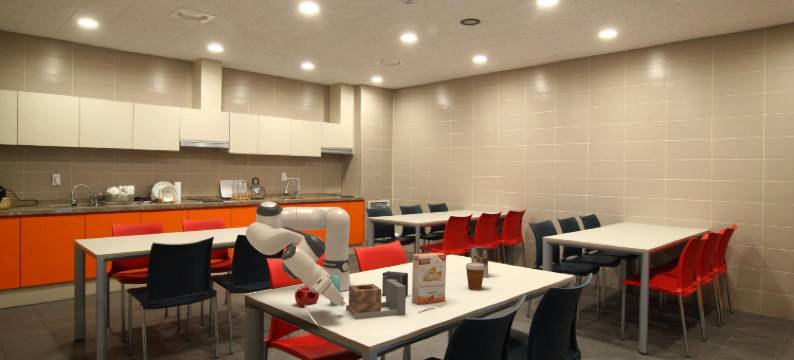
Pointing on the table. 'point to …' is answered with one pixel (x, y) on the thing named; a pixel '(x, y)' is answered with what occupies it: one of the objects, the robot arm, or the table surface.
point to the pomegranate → (306, 296)
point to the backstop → (388, 302)
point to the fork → (433, 308)
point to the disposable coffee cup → (475, 275)
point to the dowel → (336, 283)
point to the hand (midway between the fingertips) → (343, 304)
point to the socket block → (364, 298)
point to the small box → (397, 277)
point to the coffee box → (480, 257)
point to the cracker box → (428, 278)
